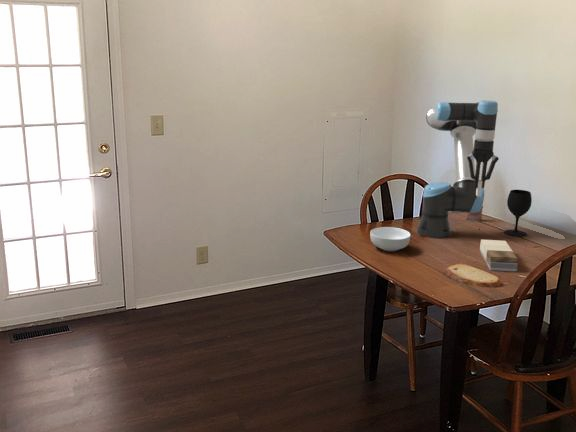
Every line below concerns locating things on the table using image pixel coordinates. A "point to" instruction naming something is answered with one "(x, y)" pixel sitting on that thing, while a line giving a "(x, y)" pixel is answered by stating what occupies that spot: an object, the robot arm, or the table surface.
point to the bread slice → (471, 276)
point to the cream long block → (497, 246)
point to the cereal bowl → (390, 238)
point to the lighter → (474, 216)
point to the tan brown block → (501, 257)
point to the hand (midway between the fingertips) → (478, 195)
